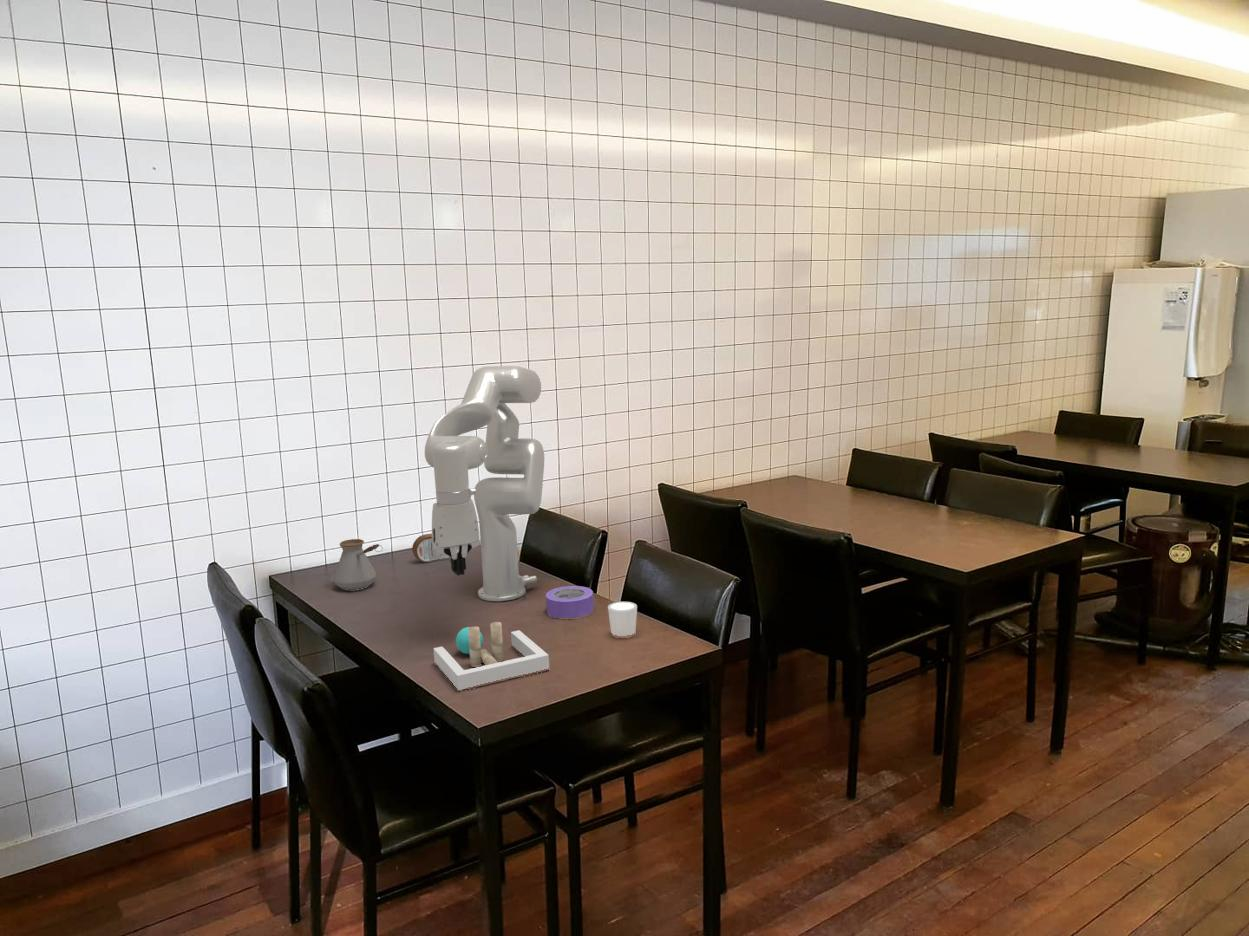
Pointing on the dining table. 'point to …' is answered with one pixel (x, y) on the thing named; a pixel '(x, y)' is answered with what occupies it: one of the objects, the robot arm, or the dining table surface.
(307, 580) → the dining table surface
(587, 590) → the tape roll
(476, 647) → the pin
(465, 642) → the ball
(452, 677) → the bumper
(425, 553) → the tin
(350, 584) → the coffee pot
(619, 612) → the white cup
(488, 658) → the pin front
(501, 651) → the pin
